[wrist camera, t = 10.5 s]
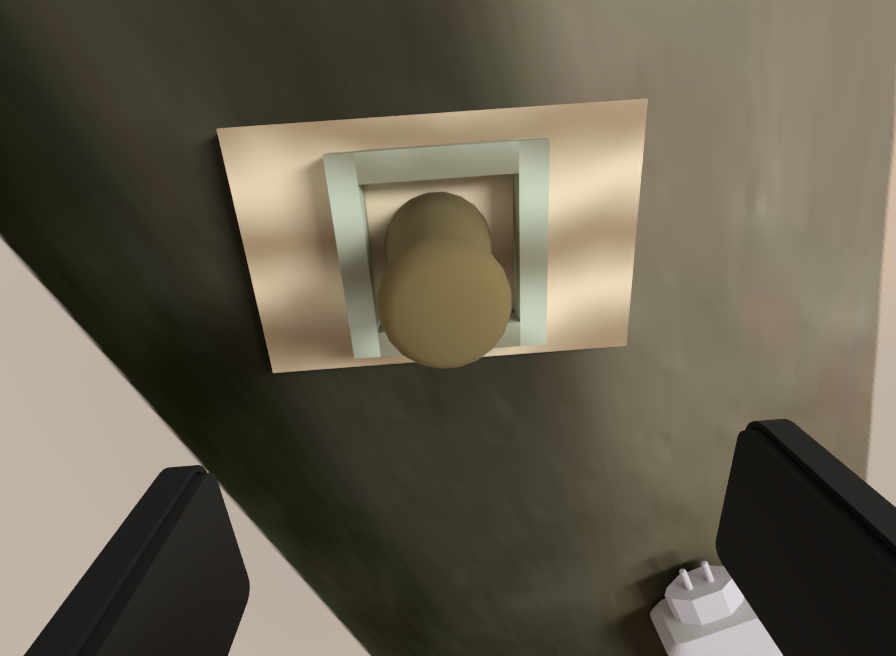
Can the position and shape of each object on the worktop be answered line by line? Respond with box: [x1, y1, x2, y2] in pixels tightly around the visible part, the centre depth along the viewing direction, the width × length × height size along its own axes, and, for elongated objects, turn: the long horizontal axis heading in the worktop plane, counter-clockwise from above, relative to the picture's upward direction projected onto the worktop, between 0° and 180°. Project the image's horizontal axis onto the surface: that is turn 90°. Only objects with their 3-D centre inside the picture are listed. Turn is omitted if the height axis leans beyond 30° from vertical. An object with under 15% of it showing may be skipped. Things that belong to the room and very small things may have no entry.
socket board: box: [217, 99, 648, 373], centre depth 27 cm, size 14×22×4 cm, turn 94°
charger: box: [650, 561, 783, 656], centre depth 40 cm, size 5×9×15 cm
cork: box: [377, 191, 511, 369], centre depth 22 cm, size 6×6×11 cm
